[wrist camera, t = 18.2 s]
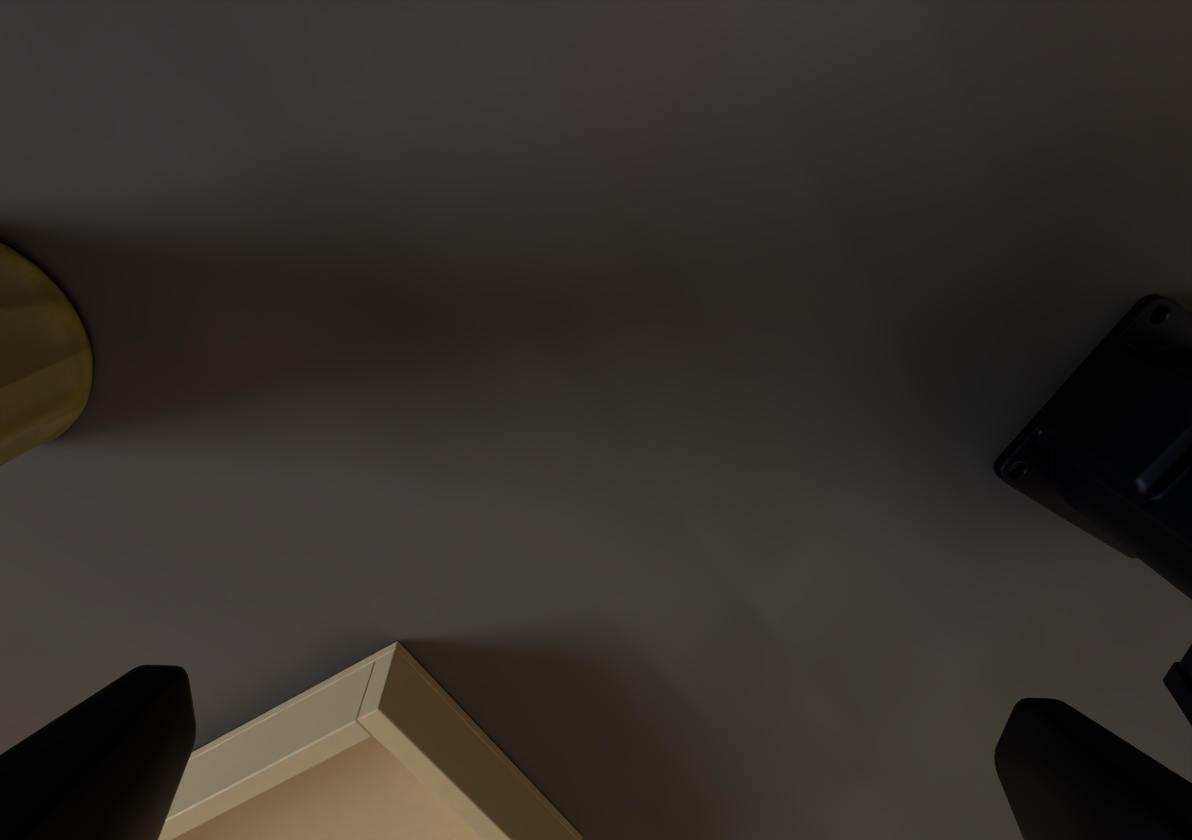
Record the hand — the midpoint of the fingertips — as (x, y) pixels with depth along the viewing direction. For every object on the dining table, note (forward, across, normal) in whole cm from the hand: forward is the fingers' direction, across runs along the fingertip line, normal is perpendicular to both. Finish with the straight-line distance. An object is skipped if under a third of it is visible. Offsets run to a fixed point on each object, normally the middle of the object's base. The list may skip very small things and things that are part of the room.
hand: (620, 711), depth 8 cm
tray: (+13, +8, +20) cm, 25 cm away
